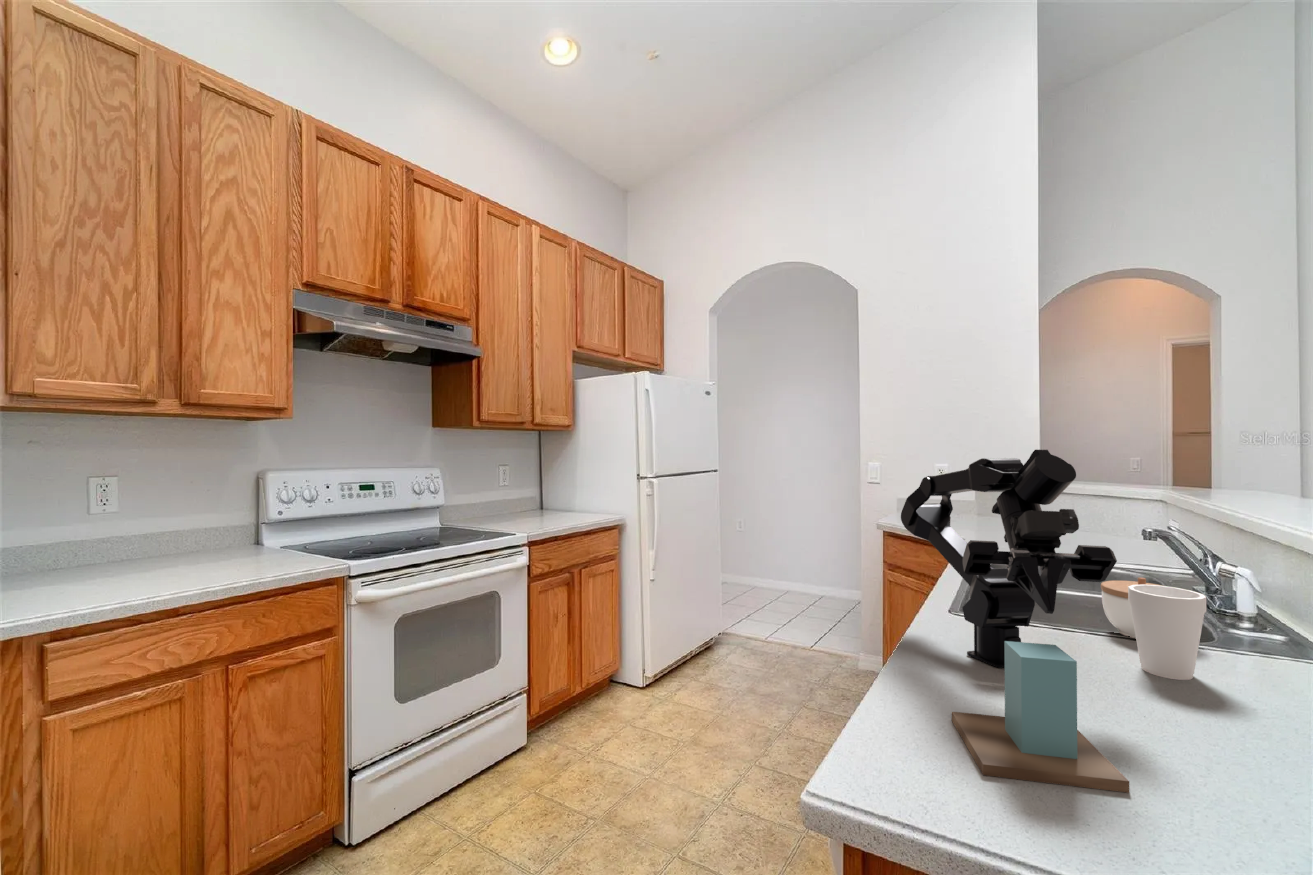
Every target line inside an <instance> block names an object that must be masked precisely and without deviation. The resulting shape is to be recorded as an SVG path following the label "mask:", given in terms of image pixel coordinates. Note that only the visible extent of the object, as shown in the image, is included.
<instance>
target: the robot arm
mask: <svg viewBox="0 0 1313 875" xmlns="http://www.w3.org/2000/svg"><path fill="white" fill-rule="evenodd" d="M1076 478H1077V472H1076V469H1075V467H1074V466H1073V465H1072V464H1071V463H1068V462H1067V461H1066V460H1064V459H1063V458H1061V457H1059V456H1056V455H1053V454H1051V453H1050V451H1049V449H1034V451H1032V453H1031V454H1030V456H1029V458H1028V459H1027V461H1025V463H1024V464H1023V462H1022V461H1021V459H1020V458H1015V457H1011V458H1006V457H1004V458H1000V457H999V458H998V457H997V458H992V457H990V458H989V457H988V458H985V457H984V458H980V459H978V460H975V461H973V462H972V463H970V464H969V466H968V468H966V469H963V470H957V471H952V472H947V473H942V474H938V475H926V476H924V477H923V478H922V479H921V482H920V484H919V487H917V488H916V489H915V490H914V491H913V492H912V493H911V494H910V495H908V497H906V500H905V501H904V504H903V507H902V510H901V512H900V520H901V522H902V525H903V527H904V529H906V531H908V532H909V533H910V534H912V535H913V536H915V537H917V538H920V539H923V540H924V541H928V542H929V543H930V544H931V545H932V546H933V547H934V548H935V549H936V550H937V552H939V554H940V555H941V556H942V557H943V558H944V559H945V561H946V562H948V564H950V565H951V567H952V568H953V569H954V570H955V571H956V572H957V574H958V575H960V577H961V578H962V580H964V581H965V582H966V583H967V585H969V600H968V601H967V602H966V603H965V604H964V605H963V606H962V613H963V616H964V621H966V622H968V623H971V624H973V637H974V638H973V639H974V640H973V645H974V647H973V649H974V650H968V651H966V655H967V656H970V657H972V658H974V659H976V660H978V661H980V662H983V663H985V664H988V665H991V666H992V667H995V668H1005V645H1004V641H1011V642H1022V638H1021V637H1020V627H1029V626H1030V622H1031V619H1032V616H1033V613H1034V609H1035V604H1036V605H1038V606H1039V607H1040V609H1041V610H1042V611H1043V612H1044V613H1045V614H1050V615H1052V614H1053V613H1054V612H1055V607H1056V600H1057V599H1056V598H1057V592H1058V591H1057V590H1058V585H1060V584H1062V583H1063V581H1064V579H1065V577H1066V576H1067V575H1068V572H1070V575H1071V577H1072V578H1074V579H1076V580H1077V581H1078V582H1088V583H1089V582H1091V583H1102V582H1105V581H1107V579H1108V576H1110V574H1111V572H1112V570H1113V568H1114V567H1115V565H1116V563H1117V561H1118V560H1117V558H1116V556H1115V553H1114V551H1113V550H1112V549H1111V548H1110V547H1108V546H1106V545H1087V544H1086V545H1085V544H1083V545H1082V544H1078V545H1077V547H1076V549H1075V551H1074V552H1073V553H1069V552H1068V553H1066V552H1065V553H1064V552H1056V550H1055V549H1059V548H1060V547H1061V545H1062V541H1061V539H1060V538H1061V537H1063V536H1066V535H1067V534H1074V533H1076V532H1077V531H1078V530H1079V528H1080V524H1079V518H1078V515H1077V513H1076V511H1075V510H1074V509H1071V508H1070V509H1069V508H1060V509H1059V510H1058V511H1056V510H1042V507H1041V505H1042V506H1047V505H1050V504H1053V502H1055V500H1056V499H1057V498H1058V497H1059V496H1060V495H1061V494H1062V493H1063V492H1064V491H1065V490H1066V489H1067V488H1068V487H1069V486H1070V485H1071V484H1072V483H1073V482H1074V481H1075V479H1076ZM973 491H975V492H982V493H1000V494H999V496H997V498H996V501H995V504H993V506H992V508H991V513H992V514H995V515H996V514H997V515H1000V518H1001V522H1002V523H1001V524H1002V526H1003V530H1004V536H1003V539H1004V542H1005V543H1007V545H1008V548H1009V551H1004V550H999V549H1000V548H999V544H998V542H997V541H995V540H994V541H993V540H969V541H968V542H967V541H966V540H965V539H964V538H962V536H961V535H960V534H959V533H957V531H956V530H954V528H953V527H951V515H952V512H953V510H954V509H953V508H954V507H953V503H952V501H951V497H952V495H953V494H958V493H967V492H973ZM934 496H935V497H939V496H940V497H941V500H940V502H939V503H929V502H928V500H929V499H930V498H931V497H934ZM926 502H928V503H926ZM991 565H992V566H993V565H994V566H1006V567H1004V568H1002V567H1000V568H999V567H998V568H994V567H992V566H991ZM1039 569H1040V572H1039Z"/></svg>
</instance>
